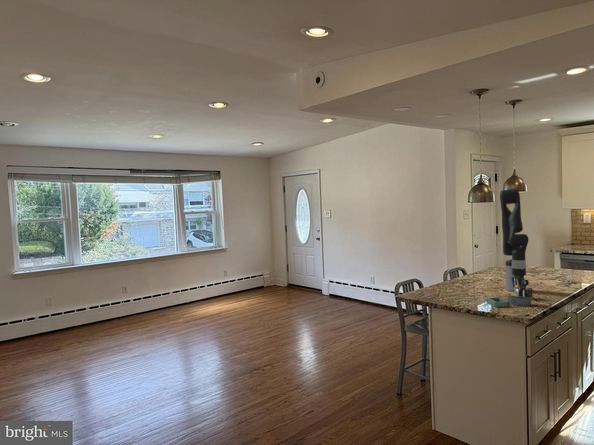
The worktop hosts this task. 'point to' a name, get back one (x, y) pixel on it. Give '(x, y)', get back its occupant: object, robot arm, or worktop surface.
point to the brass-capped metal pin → (517, 291)
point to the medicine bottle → (527, 290)
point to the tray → (498, 302)
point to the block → (519, 301)
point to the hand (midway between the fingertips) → (519, 295)
